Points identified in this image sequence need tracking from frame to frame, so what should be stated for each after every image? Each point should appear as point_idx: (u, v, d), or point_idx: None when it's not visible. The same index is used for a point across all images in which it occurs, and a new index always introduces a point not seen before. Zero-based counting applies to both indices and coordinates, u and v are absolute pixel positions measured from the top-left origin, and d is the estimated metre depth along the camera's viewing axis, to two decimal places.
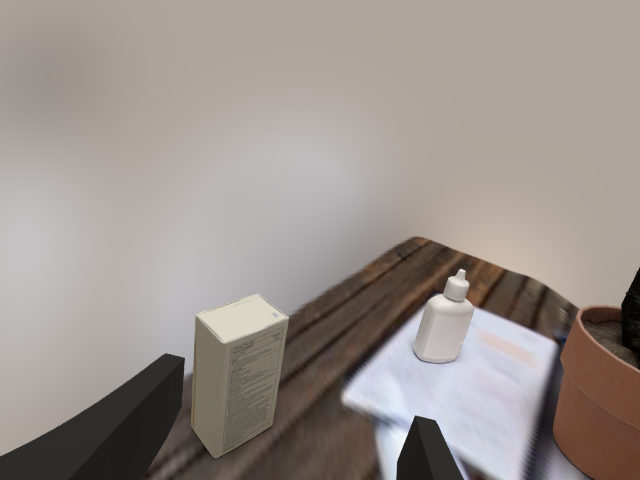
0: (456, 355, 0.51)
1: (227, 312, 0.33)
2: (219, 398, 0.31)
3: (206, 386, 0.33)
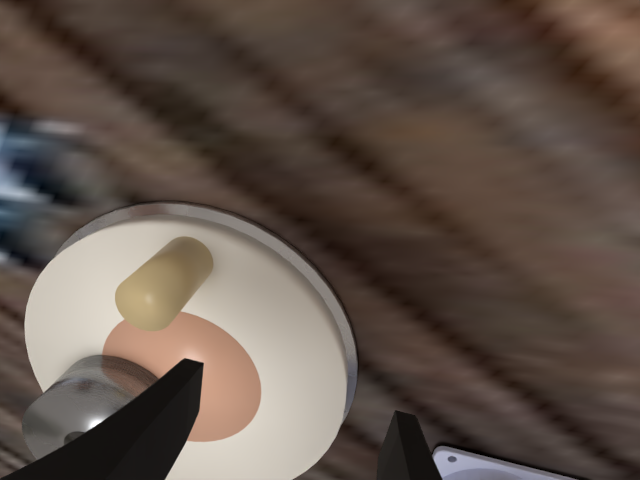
0: None
1: None
2: None
3: None
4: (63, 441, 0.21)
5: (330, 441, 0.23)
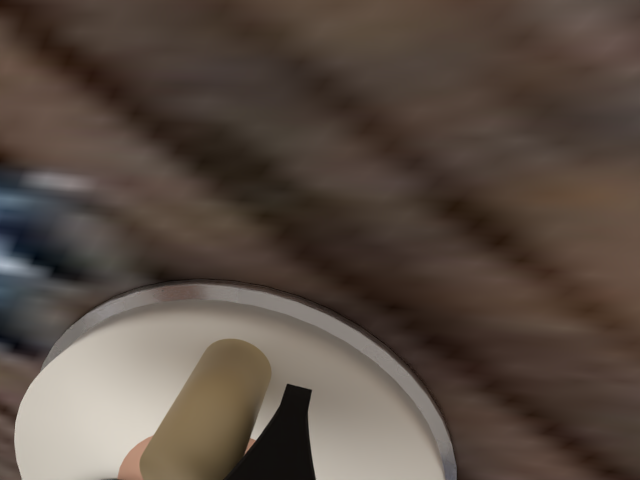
0: None
1: None
2: None
3: None
4: None
5: None
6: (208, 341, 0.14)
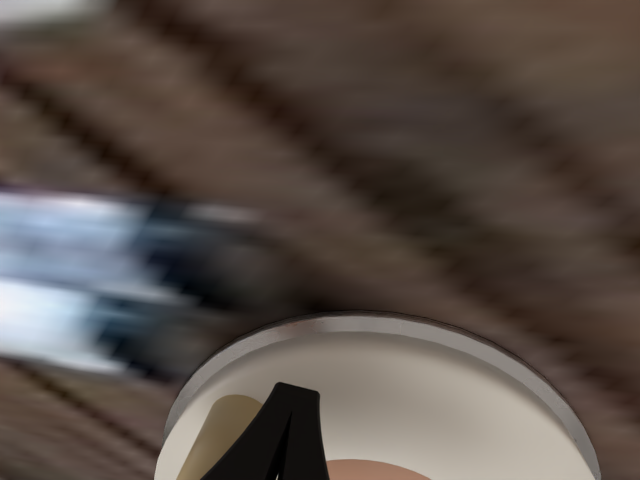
0: None
1: None
2: None
3: None
4: None
5: None
6: (206, 415, 0.15)
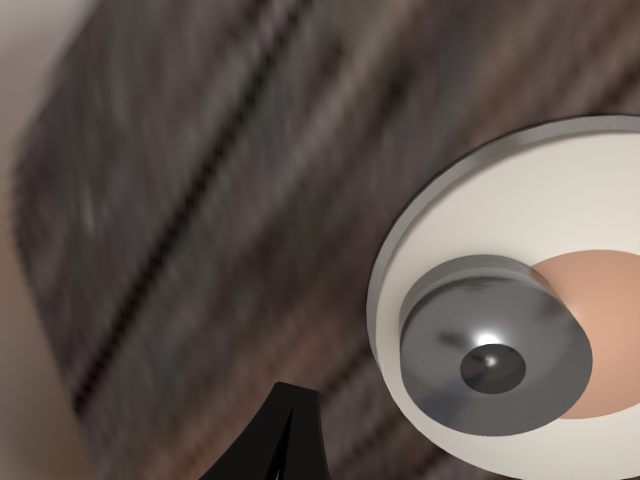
0: None
1: None
2: None
3: None
4: (474, 346, 0.16)
5: None
6: None
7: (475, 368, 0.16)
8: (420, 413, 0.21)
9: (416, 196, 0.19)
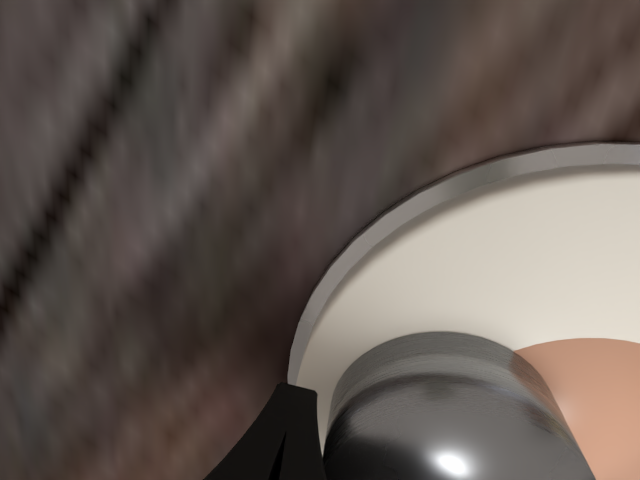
0: None
1: None
2: None
3: None
4: None
5: None
6: None
7: None
8: None
9: (358, 235, 0.13)
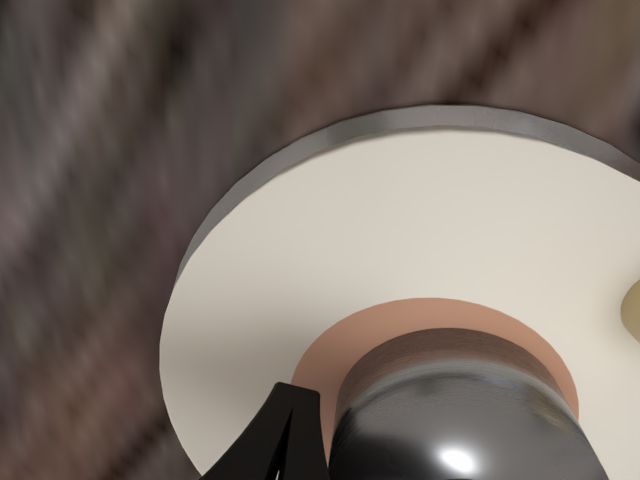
0: None
1: None
2: None
3: None
4: None
5: None
6: None
7: None
8: None
9: (217, 203, 0.14)
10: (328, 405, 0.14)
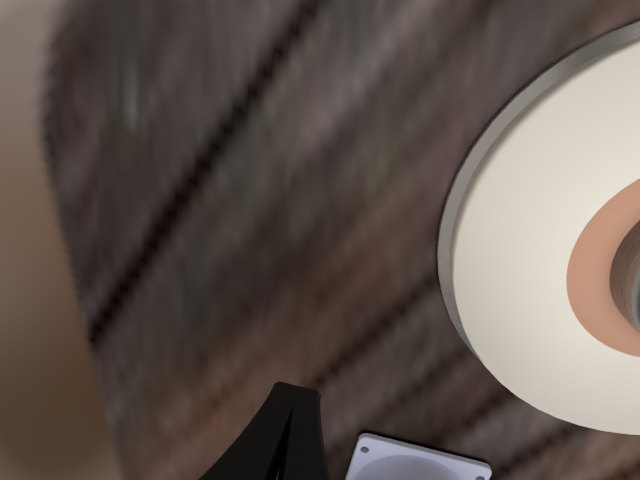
0: None
1: None
2: None
3: None
4: None
5: None
6: None
7: None
8: (491, 348, 0.19)
9: (518, 93, 0.17)
10: (603, 260, 0.17)
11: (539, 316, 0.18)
